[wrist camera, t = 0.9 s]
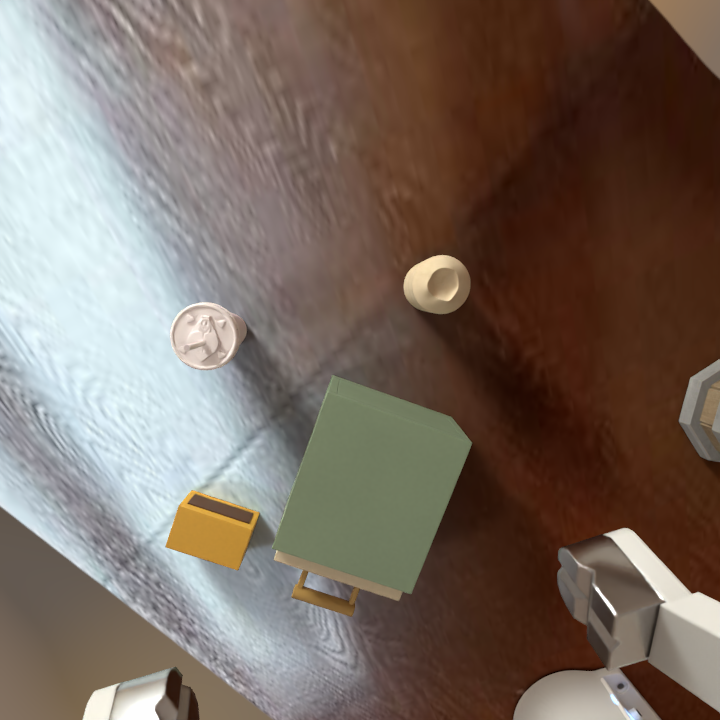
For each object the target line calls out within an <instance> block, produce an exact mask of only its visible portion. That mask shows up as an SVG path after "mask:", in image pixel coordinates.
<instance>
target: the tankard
mask: <svg viewBox="0 0 720 720" xmlns="http://www.w3.org/2000/svg"><path fill="white" fill-rule="evenodd" d="M679 423H680V425H681V426H682V428H683V429H684V431H685V433H686V434H687V436H688V438H689V439H690V441H691V442H692V444H693V446H694V447H695V449H696V451H697V452H698V454H699V455H700V457H702V458H705V459H707V460H710V461H716V462H720V359H719V360H717V361H716V362H714V363H713V364H711V365H710V366H708V367H707V368H705V369H704V370H702V371H701V372H699V373H697V374H696V375H694V376H693V377H691V378H690V381H689V385H688V389H687V392H686V396H685V399H684V403H683V407H682V410H681V414H680V418H679Z"/></svg>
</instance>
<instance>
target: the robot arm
mask: <svg viewBox="0 0 720 720" xmlns="http://www.w3.org/2000/svg"><path fill="white" fill-rule="evenodd" d="M558 560H559V561H560V563H561V564H562V567H561V569H560V570H559V571H558V572H557V582H558V586H559V590H560V593H561V596H562V598H563V600H564V602H565V604H566V606H567V608H568V610H569V611H570V613H571V614H572V616H573V618H575V619H576V620H578V621H580V622H581V623H583V624H585V625H587V639H588V641H589V643H590V644H591V646H592V647H593V649H594V650H595V652H596V653H597V655H598V656H599V658H600V659H601V661H602V663H603V664H604V666H605V667H606V668H602V669H599V670H595V671H580V670H568V671H561V672H557V673H553V674H551V675H548V676H546V677H544V678H542V679H540V680H539V681H537V682H536V683H534V684H533V685H532V686H531V687H530V688H529V689H528V690H527V691H526V692H525V693H524V694H523V696H522V697H521V699H520V700H519V702H518V704H517V706H516V709H515V712H514V717H513V720H661V718H660V717H659V716H658V715H657V714H656V712H655V711H654V710H653V709H652V707H651V706H650V705H649V704H648V703H647V701H646V700H645V699H644V698H643V696H642V695H641V694H640V693H639V692H638V690H637V689H636V688H635V687H634V685H633V684H632V683H631V682H630V681H629V679H628V678H627V677H626V676H625V674H624V673H623V672H622V671H621V670H620V669H619V668H620V667H624V666H627V665H630V664H634V663H637V662H640V661H643V660H647V659H648V662H649V663H650V664H652V665H653V666H655V667H656V668H657V669H659V670H660V671H662V672H663V673H665V674H666V675H667V676H669V677H670V678H672V679H673V680H674V681H676V682H677V683H679V684H680V685H682V686H683V687H684V688H686V689H687V690H689V691H690V692H691V693H693V694H694V695H696V696H697V697H699V698H700V699H701V700H703V701H704V702H706V703H707V704H708V705H710V706H711V707H713V708H714V709H716V710H717V711H718V712H720V602H718V601H716V600H714V599H712V598H710V597H708V596H706V595H704V594H702V593H700V592H697V593H694V594H691V592H690V591H689V590H688V589H687V588H686V587H685V586H684V585H683V584H682V583H681V582H680V581H679V580H678V578H677V577H676V576H675V575H674V574H673V573H672V572H671V571H670V570H669V569H668V568H667V567H666V566H665V564H664V563H663V562H662V561H661V560H660V559H659V558H658V557H657V556H656V555H655V554H654V553H653V552H652V551H651V549H650V548H649V547H648V546H647V545H646V544H645V543H644V542H643V541H642V540H641V539H640V538H639V537H638V535H637V534H636V533H635V532H634V531H632V530H630V529H629V528H622V529H619V530H616V531H612V532H609V533H606V534H601V535H598V536H595V537H592V538H589V539H586V540H583V541H580V542H577V543H574V544H571V545H568V546H565V547H562V548H561V549H560V550H559V551H558ZM182 676H183V675H182V674H181V673H180V672H179V670H178V669H177V668H176V667H173V668H170V669H167V670H163V671H160V672H157V673H153V674H150V675H147V676H143V677H140V678H137V679H134V680H130V681H127V682H122V683H119V684H116V685H112V686H109V687H106V688H103V689H100V690H97V691H94V693H93V694H92V696H91V698H90V700H89V701H88V703H87V706H86V710H85V713H84V717H83V720H199V711H198V710H199V709H198V702H197V699H196V696H195V693H194V692H193V690H192V689H191V688H190V687H188V686H185V685H182ZM618 684H619V685H618Z"/></svg>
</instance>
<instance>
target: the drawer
mask: <svg viewBox="0 0 720 720" xmlns="http://www.w3.org/2000/svg"><path fill="white" fill-rule="evenodd" d="M274 561H277V562H281V563H284V564H287V565H290V566H293V567H296V568H299V569H302V570H303V571H302V574H301V576H300V579H299V582H298V584H295V586H294V589H293V592H292V598H295V599H298V600H301V601H304V602H307V603H310V604H313V605H316V606H320V607H323V608H326V609H329V610H332V611H335V612H338V613H341V614H344V615H347V616H351V617H352V615H353V613H354V609H355V600H356V598H357V595H358V593H359V590H360V589H363V590H366V591H369V592H372V593H376V594H379V595H382V596H385V597H388V598H391V599H394V600H397V601H399V599H400V597H401V594H402V592H403V591H399V590H396V589H393V588H390V587H387V586H384V585H381V584H378V583H375V582H372V581H369V580H366V579H363V578H360V577H357V576H354V575H351V574H348V573H345V572H341V571H338V570H335V569H332V568H329V567H326V566H323V565H320V564H317V563H314V562H311V561H308V560H305V559H302V558H299V557H296V556H293V555H290V554H287V553H284V552H280V551H276V554H275V558H274ZM308 572H311V573H314V574H317V575H320V576H323V577H327V578H330V579H333V580H336V581H339V582H342V583H345V584H348V585H351V586H354V588H353V591H352V593H351V596H350V598H349V601H347V600H344V599H341V598H338V597H335V596H331V595H328V594H325V593H322V592H319V591H316V590H313V589H310V588H307V587H304V586H303V585H304V583H305V580H306V577H307V574H308Z"/></svg>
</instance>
